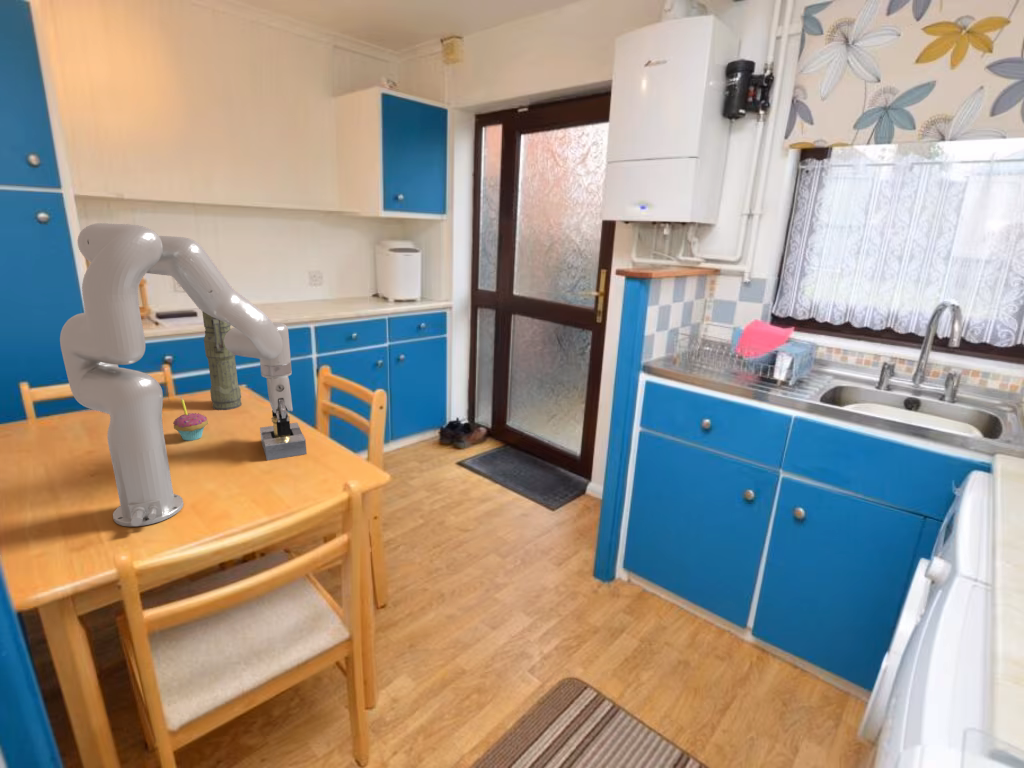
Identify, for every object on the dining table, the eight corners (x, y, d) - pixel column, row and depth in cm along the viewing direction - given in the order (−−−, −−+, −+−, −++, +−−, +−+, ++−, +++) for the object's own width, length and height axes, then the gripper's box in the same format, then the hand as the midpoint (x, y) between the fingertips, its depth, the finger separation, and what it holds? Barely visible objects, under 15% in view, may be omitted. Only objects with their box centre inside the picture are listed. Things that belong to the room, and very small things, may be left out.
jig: (306, 453, 146) (305, 439, 145) (266, 460, 142) (265, 445, 140) (298, 436, 158) (297, 422, 157) (261, 441, 153) (259, 427, 152)
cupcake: (168, 441, 151) (161, 400, 148) (192, 430, 159) (186, 392, 156) (193, 445, 149) (187, 404, 146) (216, 434, 157) (211, 395, 154)
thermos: (239, 398, 187) (228, 298, 177) (244, 408, 178) (232, 304, 168) (211, 402, 183) (197, 300, 173) (213, 412, 173) (199, 305, 163)
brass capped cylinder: (293, 449, 149) (290, 419, 146) (275, 452, 147) (272, 421, 144) (290, 443, 153) (288, 413, 150) (273, 446, 151) (270, 416, 148)
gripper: (296, 376, 138) (301, 437, 143) (286, 360, 152) (291, 416, 157) (264, 379, 134) (270, 442, 139) (257, 362, 149) (263, 420, 154)
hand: (281, 428), depth 148 cm, fingers open, 9 cm apart
